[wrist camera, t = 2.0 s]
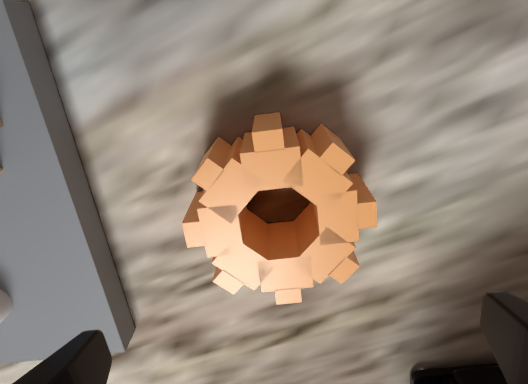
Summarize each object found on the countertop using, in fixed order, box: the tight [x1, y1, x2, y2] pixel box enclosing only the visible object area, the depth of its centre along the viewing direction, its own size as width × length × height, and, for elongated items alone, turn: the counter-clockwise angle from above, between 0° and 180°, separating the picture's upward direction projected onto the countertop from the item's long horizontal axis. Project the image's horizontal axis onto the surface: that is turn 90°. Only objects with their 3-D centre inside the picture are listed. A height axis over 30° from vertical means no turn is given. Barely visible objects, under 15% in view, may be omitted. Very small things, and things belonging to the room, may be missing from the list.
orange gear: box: [182, 112, 377, 305], centre depth 15 cm, size 7×7×3 cm
